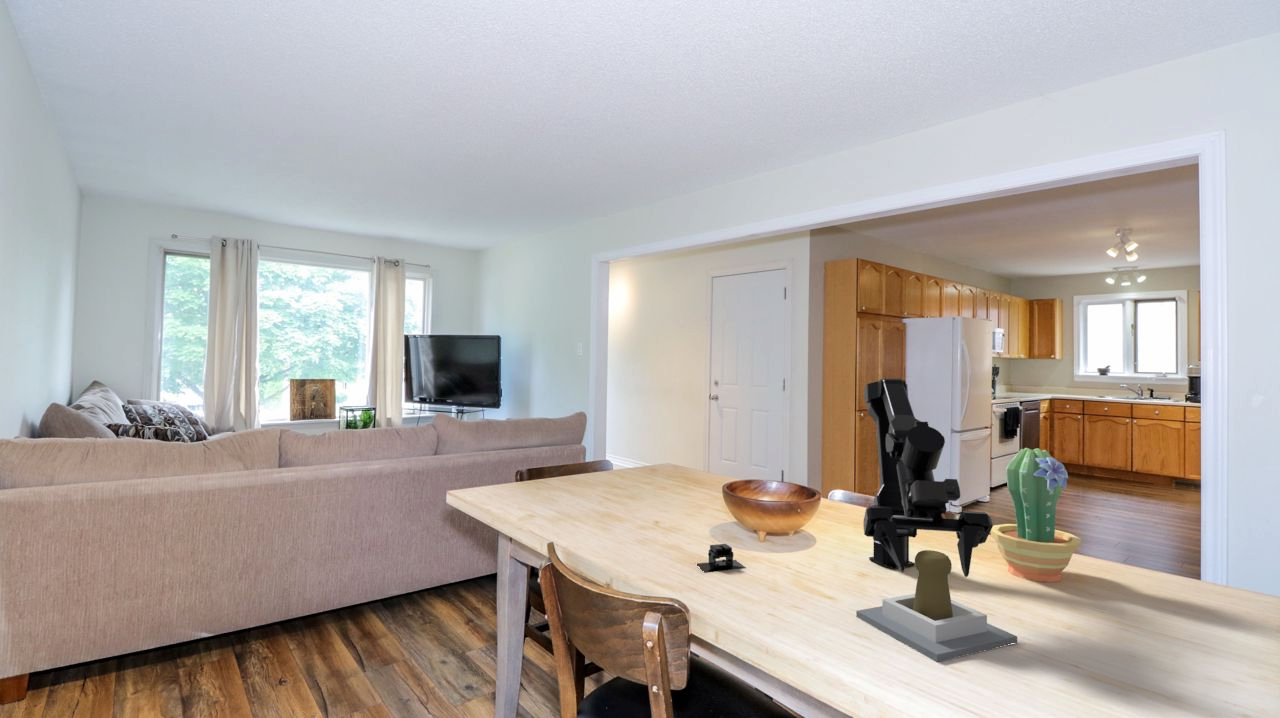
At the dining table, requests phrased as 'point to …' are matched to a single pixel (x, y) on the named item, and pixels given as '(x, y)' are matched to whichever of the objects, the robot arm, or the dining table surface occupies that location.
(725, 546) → the black bracket mount
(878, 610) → the socket plate
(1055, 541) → the potted cactus
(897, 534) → the robot arm
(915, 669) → the dining table surface
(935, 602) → the cork
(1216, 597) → the dining table surface
